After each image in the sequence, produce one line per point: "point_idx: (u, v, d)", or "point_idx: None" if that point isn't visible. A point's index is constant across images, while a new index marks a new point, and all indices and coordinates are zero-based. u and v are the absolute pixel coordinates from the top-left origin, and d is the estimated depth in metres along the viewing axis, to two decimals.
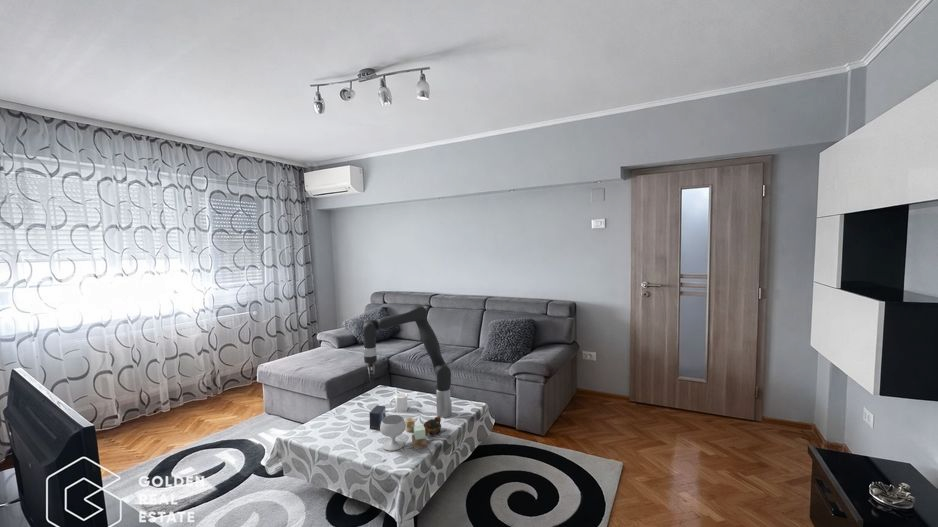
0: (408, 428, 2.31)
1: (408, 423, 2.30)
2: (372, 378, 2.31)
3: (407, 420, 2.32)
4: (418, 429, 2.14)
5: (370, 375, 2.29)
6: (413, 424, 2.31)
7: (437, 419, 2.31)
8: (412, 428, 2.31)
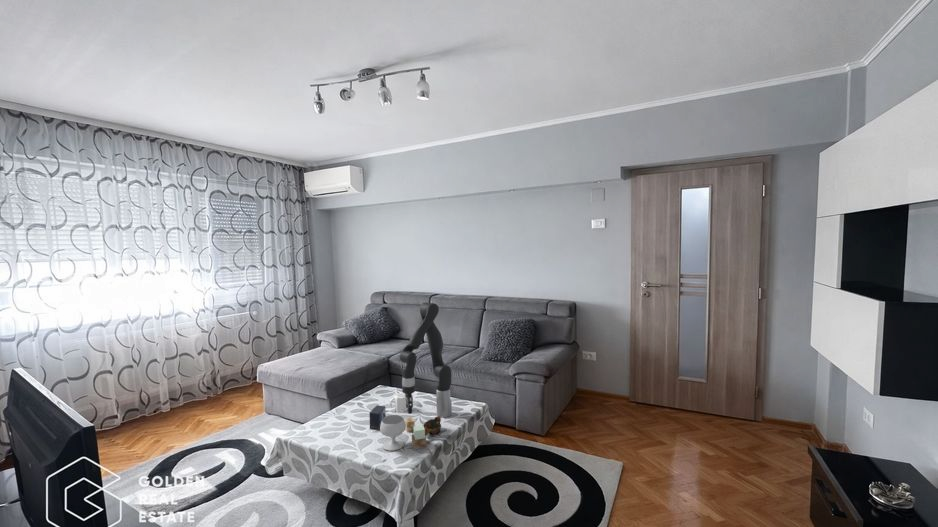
0: (408, 428, 2.31)
1: (408, 423, 2.30)
2: (411, 409, 2.27)
3: (407, 420, 2.32)
4: (418, 429, 2.14)
5: (409, 406, 2.25)
6: (413, 424, 2.31)
7: (437, 419, 2.31)
8: (412, 428, 2.31)
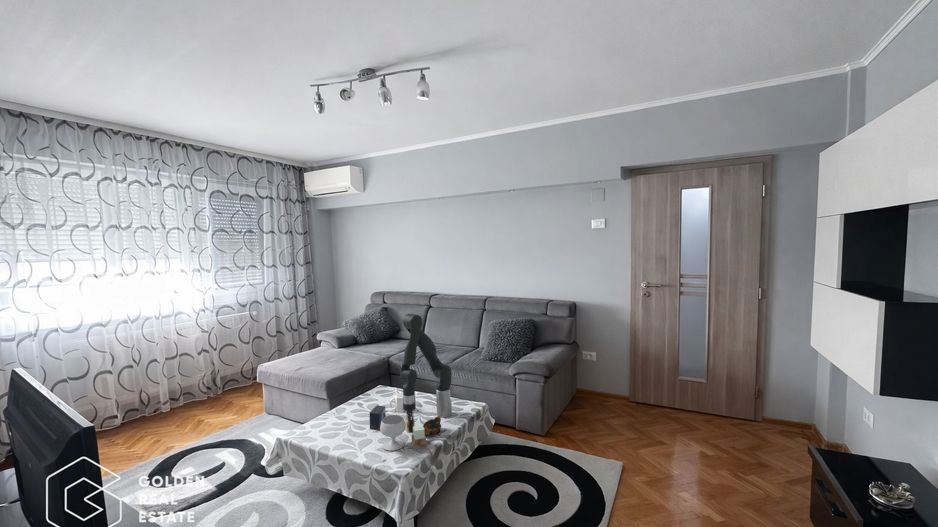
0: (408, 428, 2.31)
1: (408, 423, 2.30)
2: (411, 426, 2.30)
3: (407, 420, 2.32)
4: (417, 429, 2.14)
5: (410, 424, 2.27)
6: (413, 424, 2.31)
7: (437, 419, 2.31)
8: None
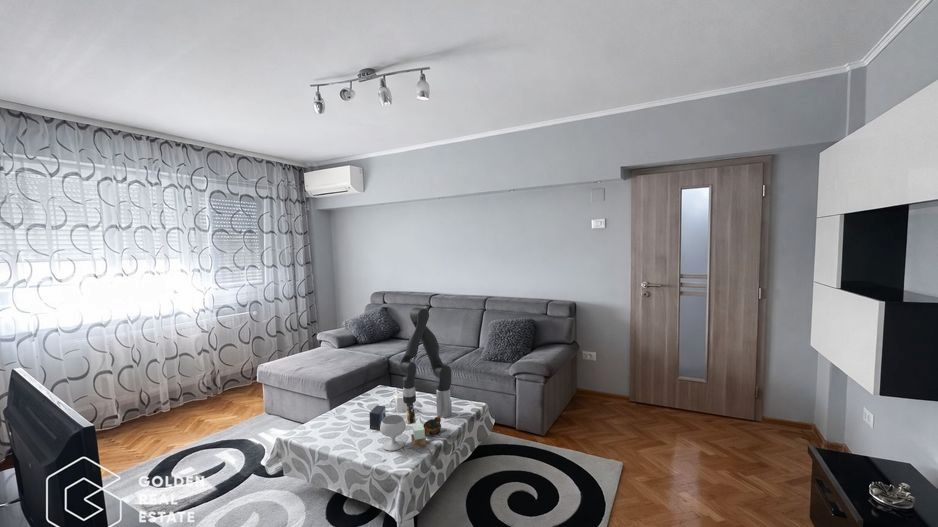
0: (409, 421, 2.30)
1: None
2: (412, 419, 2.29)
3: None
4: (418, 429, 2.14)
5: (410, 416, 2.27)
6: (414, 416, 2.31)
7: (437, 419, 2.31)
8: None
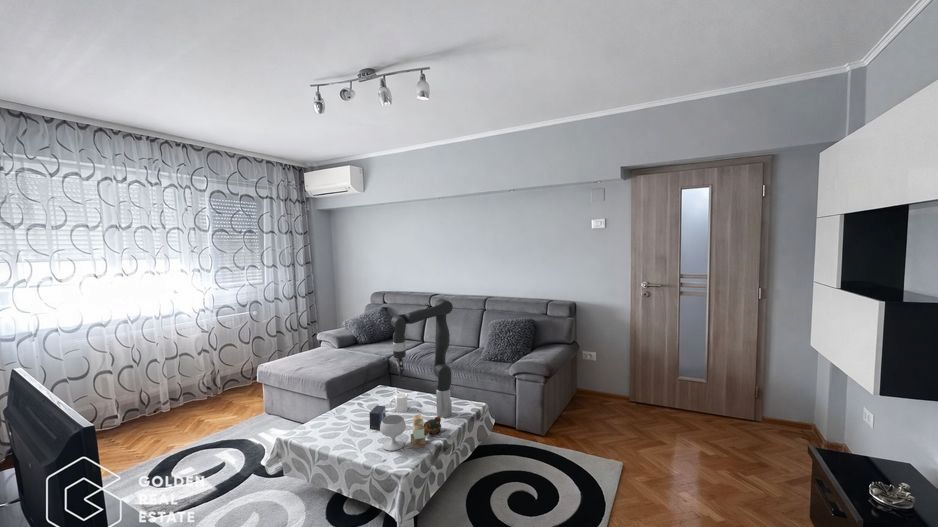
0: (416, 426, 2.13)
1: (416, 420, 2.12)
2: (401, 373, 2.30)
3: (415, 417, 2.14)
4: None
5: (400, 370, 2.28)
6: (421, 422, 2.13)
7: (437, 419, 2.31)
8: (420, 426, 2.13)
